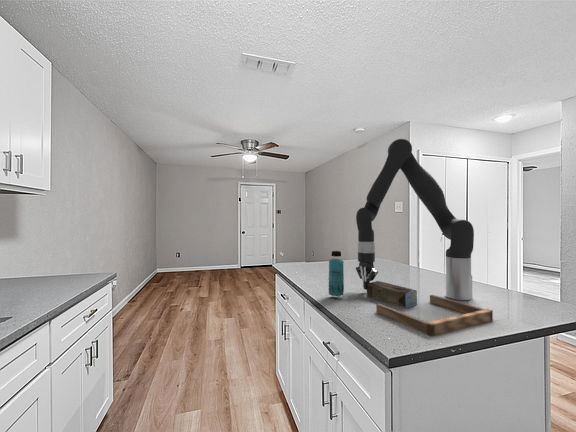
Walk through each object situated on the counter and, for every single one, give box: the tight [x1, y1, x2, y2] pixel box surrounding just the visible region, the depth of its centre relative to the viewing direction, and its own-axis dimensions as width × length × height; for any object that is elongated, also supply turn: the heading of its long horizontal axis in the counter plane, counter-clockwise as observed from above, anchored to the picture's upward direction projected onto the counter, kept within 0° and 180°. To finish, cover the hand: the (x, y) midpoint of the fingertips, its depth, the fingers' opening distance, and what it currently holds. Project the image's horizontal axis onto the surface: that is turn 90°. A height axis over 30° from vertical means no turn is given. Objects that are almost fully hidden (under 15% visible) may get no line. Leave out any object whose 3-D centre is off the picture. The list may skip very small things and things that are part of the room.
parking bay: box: [376, 294, 494, 337], centre depth 97 cm, size 29×22×3 cm
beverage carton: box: [366, 280, 418, 309], centre depth 116 cm, size 8×19×7 cm, turn 34°
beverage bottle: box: [327, 250, 345, 297], centre depth 120 cm, size 6×7×20 cm
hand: (366, 289), depth 128 cm, fingers closed
